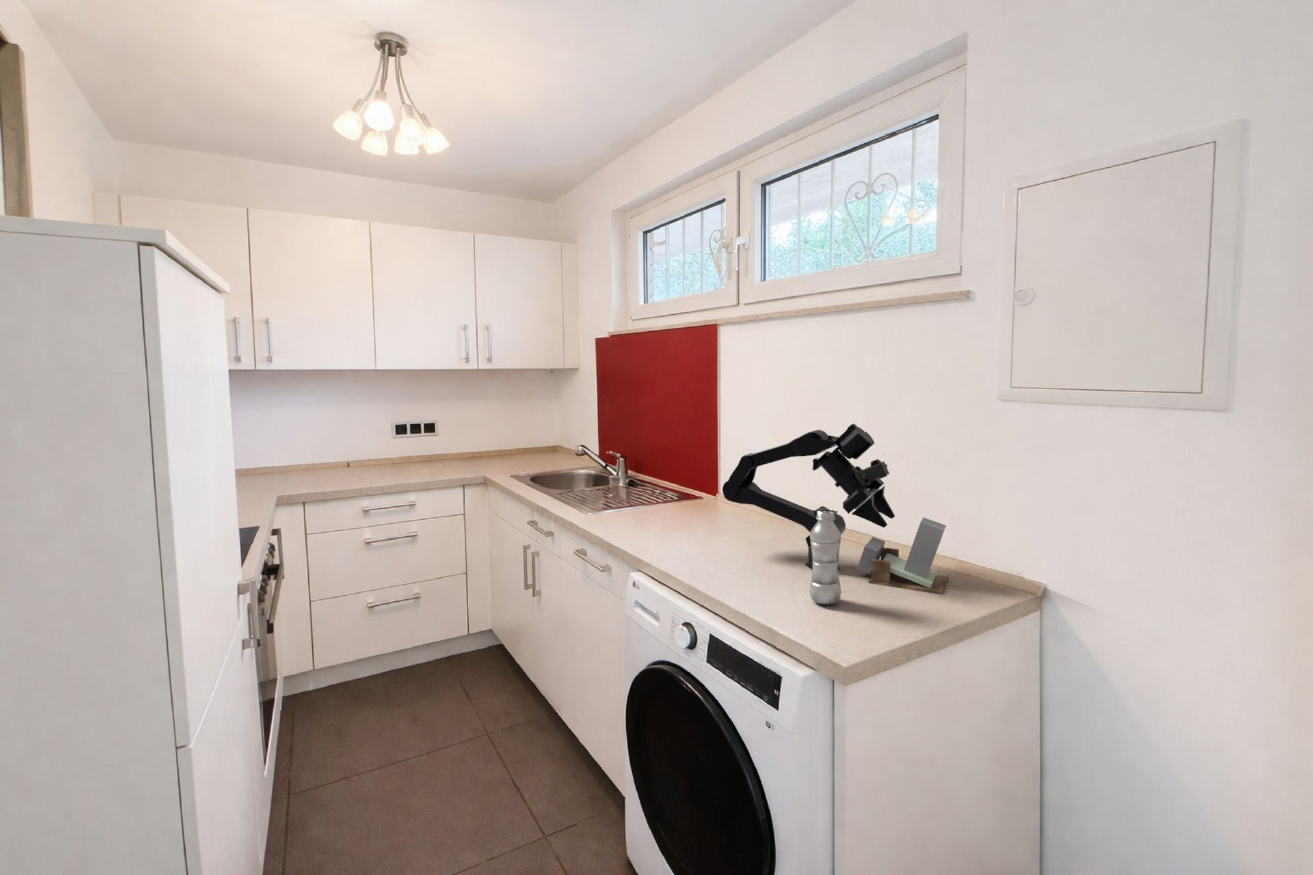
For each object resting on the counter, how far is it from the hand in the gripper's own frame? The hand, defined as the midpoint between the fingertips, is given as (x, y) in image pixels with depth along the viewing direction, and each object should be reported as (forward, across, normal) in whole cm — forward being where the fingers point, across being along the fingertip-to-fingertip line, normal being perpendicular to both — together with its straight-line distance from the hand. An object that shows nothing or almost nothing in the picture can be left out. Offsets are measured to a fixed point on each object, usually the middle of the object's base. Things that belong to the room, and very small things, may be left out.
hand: (889, 521), depth 143 cm
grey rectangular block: (+12, 0, +3) cm, 13 cm away
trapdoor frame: (+13, 0, +6) cm, 14 cm away
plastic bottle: (+4, -22, +16) cm, 27 cm away
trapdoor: (+10, 0, +8) cm, 13 cm away
